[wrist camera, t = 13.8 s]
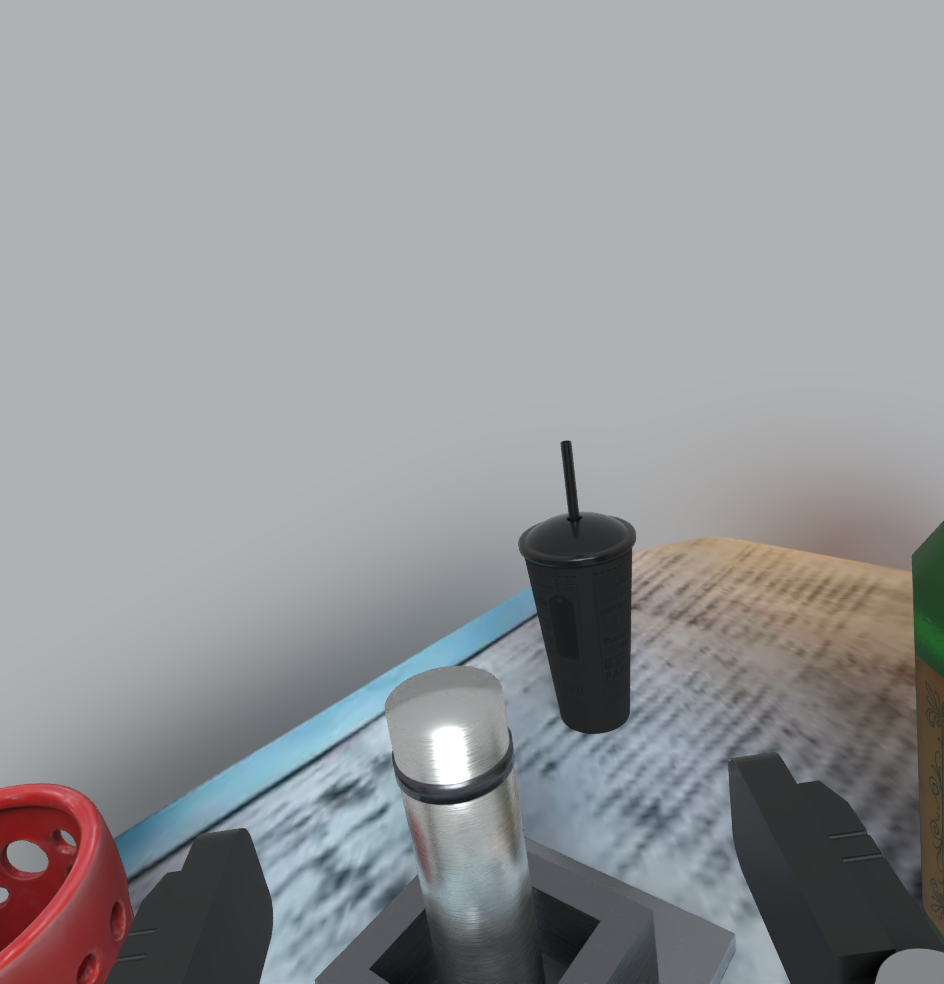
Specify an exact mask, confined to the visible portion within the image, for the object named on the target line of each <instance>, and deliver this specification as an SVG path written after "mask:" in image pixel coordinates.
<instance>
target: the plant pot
mask: <svg viewBox="0 0 944 984" xmlns="http://www.w3.org/2000/svg"><path fill="white" fill-rule="evenodd" d="M60 830H63V831H66V832H67V833H69V834H70V835H71V836H72V837H73V838H74V840H75V842H76V847H75V846H72V845H70V844H68V843H67V842H66V841H65V840H64V839H63V837H62V835H61V832H60ZM18 840H26V841H29V842H32V843H35V844H36V845H38V846H39V847H40V848H41V849H42V850H43V851H44V852H45V853H46V855H47V857H48V860H49V864H48V867H47V869H46V870H44V871H42V872H36V873H30V872H22V871H19V870H18V869H16V868H15V867H13V866H12V865H11V864H10V862H9V860H8V858H7V853H6V852H7V847H8V845H9V844H10V843H12V842H14V841H18ZM0 887H2V888H5V889H7V891H8V893H9V896H8V898H7V900H6V901H4V902H2V903H0V984H104V983H105V981H106V979H107V977H108V974H109V972H110V970H111V968H112V966H113V964H116V962H117V958H116V957H117V955H118V953H119V951H120V949H121V946H122V944H123V942H124V940H125V938H128V935H129V933H128V931H129V929H130V927H131V925H132V923H133V920H134V914H133V911H132V907H131V903H130V899H129V892H128V881H127V877H126V873H125V870H124V867H123V864H122V861H121V858H120V855H119V852H118V849H117V847H116V844H115V842H114V840H113V838H112V835H111V833H110V831H109V829H108V827H107V825H106V823H105V821H104V819H103V817H102V815H101V814H100V812H99V810H98V809H97V807H96V806H95V805H94V803H93V802H92V801H91V800H90V799H89V798H88V797H86V796H85V795H84V794H82V793H80V792H79V791H77V790H75V789H72V788H69V787H66V786H62V785H56V784H24V785H16V786H10V787H5V788H0Z"/></svg>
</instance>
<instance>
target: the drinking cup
mask: <svg viewBox="0 0 944 984" xmlns="http://www.w3.org/2000/svg"><path fill="white" fill-rule="evenodd" d="M561 452H562V460H563V468H564V478H565V487H566V496H567V505H568V513H567V514H562V515H558V516H555V517H552V518H550V519H548V520H546V521H544V522H541V523H539V524H537V525H534V526H532V527H531V528H529V529H528V530H526V531H525V532H524V533H523V534H522V535H521V537H520V538H519V542H518V546H519V551H520V553H521V555H522V556H523V557H524V558H525V561H526V565H527V570H528V574H529V578H530V582H531V587H532V591H533V596H534V600H535V604H536V609H537V613H538V617H539V622H540V626H541V630H542V635H543V639H544V643H545V648H546V652H547V656H548V661H549V665H550V669H551V674H552V678H553V682H554V687H555V691H556V695H557V700H558V704H559V708H560V713H561V717H562V719H563V721H564V723H565V724H566V725H567V726H569V727H570V728H572V729H574V730H576V731H579V732H583V733H593V734H594V733H604V732H608V731H612V730H614V729H616V728H618V727H620V726H621V725H623V724H624V723H625V722H626V720H627V719H628V717H629V713H630V651H631V583H632V547H633V546H634V544H635V541H636V531H635V529H634V527H633V526H632V525H631V524H630V523H629V522H627V521H625V520H623V519H620V518H617V517H613V516H607V515H603V514H598V513H593V512H579V509H578V499H577V490H576V481H575V472H574V463H573V453H572V445H571V441H562V442H561Z"/></svg>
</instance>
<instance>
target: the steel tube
mask: <svg viewBox="0 0 944 984" xmlns="http://www.w3.org/2000/svg"><path fill="white" fill-rule="evenodd" d="M385 714H386V719H387V723H388V728H389V733H390V738H391V743H392V748H393V751H392V761H393V766H394V771H395V776H396V780H397V783H398V785H399V787H400V789H401V792H402V797H403V802H404V807H405V811H406V816H407V821H408V826H409V831H410V836H411V841H412V846H413V851H414V856H415V860H416V865H417V870H418V875H419V880H420V885H421V890H422V895H423V900H424V904H425V909H426V914H427V919H428V924H429V929H430V934H431V939H432V944H433V949H434V953H435V958H436V963H437V968H438V973H439V978H440V983H441V984H546V980H545V973H544V967H543V960H542V953H541V947H540V940H539V933H538V927H537V920H536V913H535V906H534V900H533V893H532V886H531V880H530V873H529V866H528V860H527V853H526V846H525V840H524V833H523V826H522V820H521V813H520V806H519V800H518V793H517V786H516V779H515V773H514V766H513V765H514V760H515V755H514V749H513V742H512V735H511V732H510V730H509V728H508V726H507V719H506V713H505V706H504V699H503V693H502V687H501V684H500V682H499V681H498V679H497V678H496V677H495V676H493V675H492V674H490V673H489V672H487V671H484V670H481V669H478V668H474V667H467V666H449V667H441V668H436V669H432V670H428V671H425V672H422V673H420V674H417V675H415V676H413V677H411V678H409V679H407V680H406V681H404V682H403V683H401V684H400V685H399V686H397V687H396V688H395V689H394V690H393V691H392V692H391V694H390V695H389V697H388V699H387V701H386V704H385Z"/></svg>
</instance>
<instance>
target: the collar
mask: <svg viewBox="0 0 944 984" xmlns="http://www.w3.org/2000/svg"><path fill="white" fill-rule="evenodd" d="M524 840H525V846H526V853H527V860H528V866H529V873H530V880H531V886H532V893H533V900H534V906H535V913H536V920H537V927H538V933H539V940H540V947H541V953H542V960H543V967H544V973H545V980H546V984H719V983H720V981H721V979H722V977H723V975H724V973H725V971H726V969H727V967H728V965H729V963H730V961H731V959H732V957H733V955H734V953H735V951H736V946H735V934H734V933H732V932H730V931H728V930H725V929H723V928H721V927H719V926H717V925H715V924H712V923H710V922H708V921H706V920H704V919H701V918H699V917H697V916H695V915H693V914H691V913H688V912H686V911H684V910H682V909H680V908H678V907H675V906H673V905H671V904H669V903H667V902H665V901H662V900H660V899H658V898H656V897H654V896H652V895H649V894H647V893H645V892H643V891H641V890H638V889H636V888H634V887H632V886H630V885H628V884H625V883H623V882H621V881H619V880H617V879H615V878H612V877H610V876H608V875H606V874H604V873H602V872H599V871H597V870H595V869H593V868H591V867H588V866H586V865H584V864H582V863H580V862H578V861H575V860H573V859H571V858H569V857H567V856H565V855H562V854H560V853H558V852H556V851H554V850H552V849H549V848H547V847H545V846H543V845H541V844H539V843H536V842H534V841H532V840H530V839H528V838H525V837H524ZM315 984H441V983H440V978H439V973H438V968H437V963H436V958H435V953H434V949H433V944H432V939H431V934H430V929H429V924H428V919H427V914H426V909H425V904H424V900H423V895H422V890H421V885H420V880H419V875H417V876H416V877H415V878H414V879H413V880H412V881H411V882H410V883H409V884H408V885H407V886H406V887H405V888H404V889H403V890H402V891H401V892H400V893H399V894H398V895H397V896H396V897H395V898H394V899H393V900H392V902H391V903H390V904H389V905H388V906H387V907H386V908H385V909H384V910H383V911H382V912H381V913H380V914H379V915H378V916H377V917H376V918H375V919H374V920H373V921H372V922H371V923H370V924H369V925H368V926H367V927H366V928H365V929H364V930H363V931H362V932H361V933H360V934H359V935H358V936H357V937H356V938H355V939H354V940H353V941H352V942H351V943H350V945H349V946H348V947H347V948H346V949H345V950H344V951H343V952H342V953H341V954H340V955H339V956H338V957H337V958H336V959H335V960H334V961H333V962H332V963H331V964H330V965H329V966H328V967H327V968H326V969H325V970H324V971H323V972H322V973H321V974H320V975H319V976H318V977H317V978H316V979H315Z"/></svg>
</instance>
